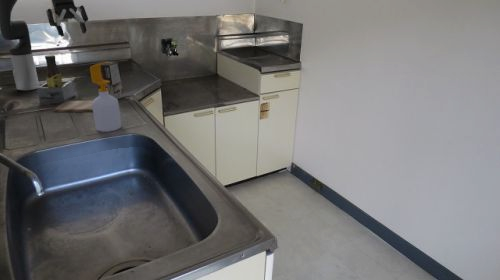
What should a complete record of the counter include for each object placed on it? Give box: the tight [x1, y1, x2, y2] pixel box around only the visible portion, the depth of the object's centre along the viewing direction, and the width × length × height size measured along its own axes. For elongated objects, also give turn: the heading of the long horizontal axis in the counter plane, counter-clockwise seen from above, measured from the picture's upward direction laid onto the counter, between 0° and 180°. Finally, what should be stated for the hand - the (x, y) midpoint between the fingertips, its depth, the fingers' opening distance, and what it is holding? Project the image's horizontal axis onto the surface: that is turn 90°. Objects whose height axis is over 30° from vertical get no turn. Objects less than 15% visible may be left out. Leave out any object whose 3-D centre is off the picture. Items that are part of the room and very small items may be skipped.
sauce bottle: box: [44, 54, 63, 87], centre depth 172 cm, size 7×6×20 cm
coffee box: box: [94, 60, 125, 100], centre depth 176 cm, size 9×6×16 cm
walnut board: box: [54, 100, 93, 113], centre depth 165 cm, size 16×12×1 cm
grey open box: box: [36, 80, 76, 104], centre depth 173 cm, size 11×16×7 cm
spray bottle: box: [89, 61, 122, 133], centre depth 139 cm, size 9×9×25 cm
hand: (73, 34), depth 151 cm, fingers open, 8 cm apart
